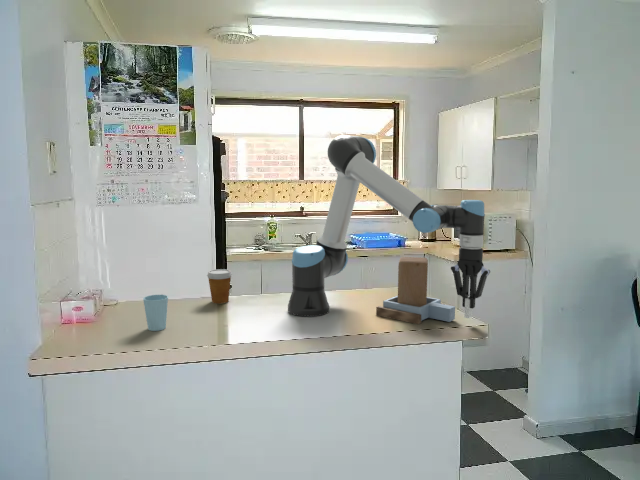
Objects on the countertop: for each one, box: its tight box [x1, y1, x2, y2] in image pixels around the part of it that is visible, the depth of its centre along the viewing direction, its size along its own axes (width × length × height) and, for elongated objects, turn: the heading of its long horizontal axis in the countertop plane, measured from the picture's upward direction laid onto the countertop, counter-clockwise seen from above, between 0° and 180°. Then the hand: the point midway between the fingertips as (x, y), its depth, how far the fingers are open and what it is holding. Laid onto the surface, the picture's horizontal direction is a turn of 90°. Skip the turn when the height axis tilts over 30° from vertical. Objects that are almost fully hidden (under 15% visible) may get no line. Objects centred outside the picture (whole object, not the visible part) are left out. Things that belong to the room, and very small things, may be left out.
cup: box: [143, 294, 169, 332], centre depth 168 cm, size 8×8×10 cm
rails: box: [375, 302, 446, 325], centre depth 187 cm, size 17×19×3 cm
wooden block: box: [397, 256, 429, 307], centre depth 185 cm, size 10×10×20 cm
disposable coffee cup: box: [206, 268, 233, 305], centre depth 201 cm, size 10×10×12 cm
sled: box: [382, 295, 456, 323], centre depth 184 cm, size 23×15×4 cm, turn 51°
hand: (468, 316), depth 173 cm, fingers closed
